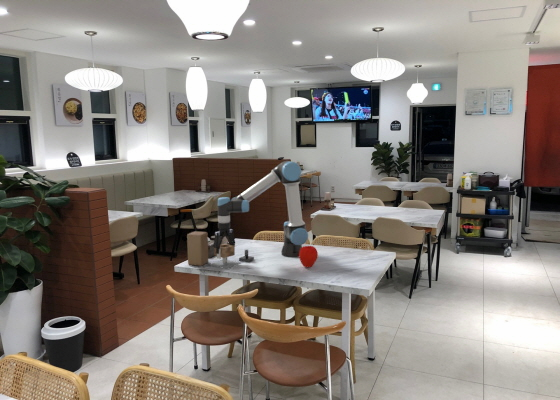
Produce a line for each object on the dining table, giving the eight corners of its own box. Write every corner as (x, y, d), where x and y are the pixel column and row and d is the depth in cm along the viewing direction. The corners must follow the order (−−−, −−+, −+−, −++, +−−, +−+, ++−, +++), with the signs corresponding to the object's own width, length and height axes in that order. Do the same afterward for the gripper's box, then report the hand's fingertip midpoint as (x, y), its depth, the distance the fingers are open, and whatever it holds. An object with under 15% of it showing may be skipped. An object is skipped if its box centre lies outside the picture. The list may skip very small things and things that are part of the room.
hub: (240, 263, 286) (240, 248, 285) (227, 268, 274) (226, 253, 273) (222, 260, 293) (222, 246, 292) (209, 265, 281) (208, 250, 280)
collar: (225, 252, 289) (225, 243, 289) (234, 255, 284) (234, 245, 283) (214, 255, 283) (214, 246, 282) (224, 257, 277) (223, 248, 276)
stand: (254, 259, 294) (253, 249, 293) (248, 262, 288) (247, 251, 287) (245, 258, 297) (245, 248, 296) (239, 261, 291) (238, 250, 290)
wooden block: (209, 262, 289) (208, 231, 286) (201, 266, 280) (200, 235, 277) (195, 260, 292) (194, 230, 289) (187, 265, 283) (186, 234, 280)
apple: (312, 270, 269) (312, 249, 267) (295, 268, 275) (295, 246, 273) (320, 266, 279) (321, 245, 277) (304, 263, 285) (304, 242, 283)
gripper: (232, 218, 291) (233, 252, 294) (206, 223, 275) (207, 259, 278) (240, 220, 286) (241, 254, 289) (214, 225, 270) (215, 261, 273)
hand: (224, 256), depth 283 cm, fingers closed on collar, 9 cm apart
